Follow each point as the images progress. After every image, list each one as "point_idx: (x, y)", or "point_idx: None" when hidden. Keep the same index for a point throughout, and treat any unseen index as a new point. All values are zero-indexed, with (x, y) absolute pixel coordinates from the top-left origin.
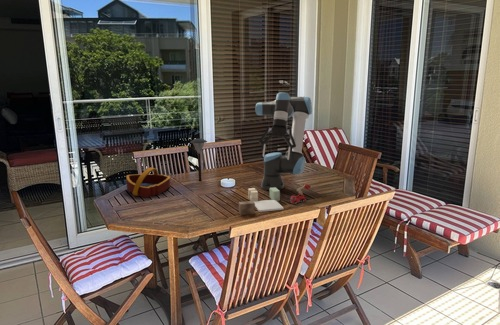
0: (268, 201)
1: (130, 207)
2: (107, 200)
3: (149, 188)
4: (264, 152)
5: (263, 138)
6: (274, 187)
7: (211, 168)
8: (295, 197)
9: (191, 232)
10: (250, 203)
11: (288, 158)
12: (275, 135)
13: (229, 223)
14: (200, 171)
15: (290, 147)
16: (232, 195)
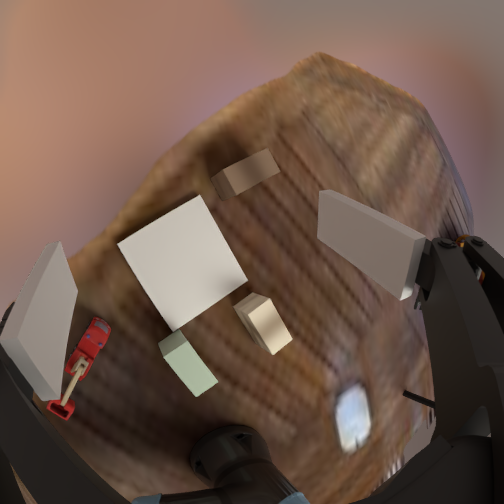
0: (191, 300)
1: (441, 180)
2: (467, 209)
3: (459, 246)
4: (343, 240)
5: (494, 284)
6: (200, 393)
7: (392, 467)
8: (87, 330)
9: (314, 53)
10: (237, 163)
11: (51, 244)
12: (445, 443)
13: (259, 93)
14: (421, 399)
15: (6, 358)
16: (323, 330)
